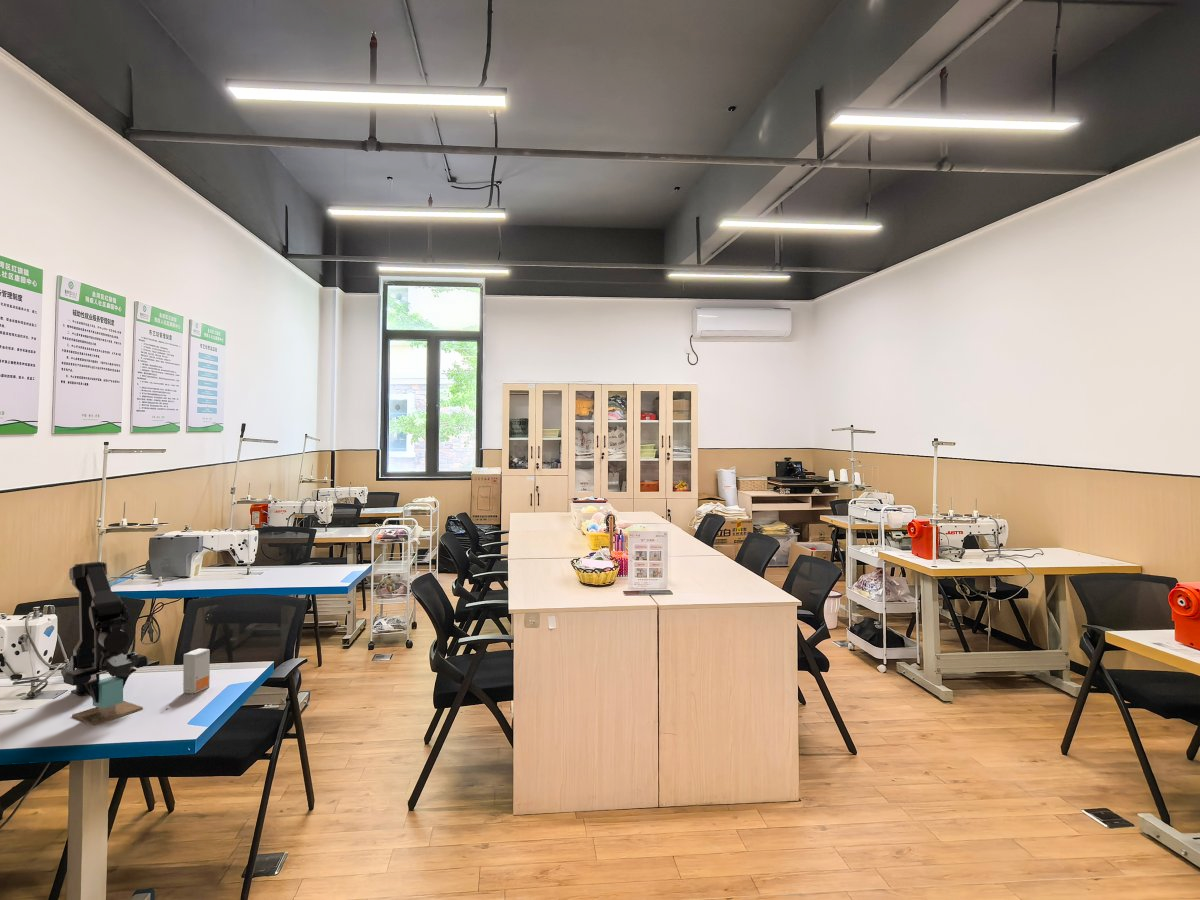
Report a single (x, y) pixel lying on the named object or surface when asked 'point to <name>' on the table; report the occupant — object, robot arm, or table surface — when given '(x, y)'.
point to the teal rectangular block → (109, 692)
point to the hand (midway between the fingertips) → (107, 699)
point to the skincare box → (196, 670)
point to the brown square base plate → (106, 713)
